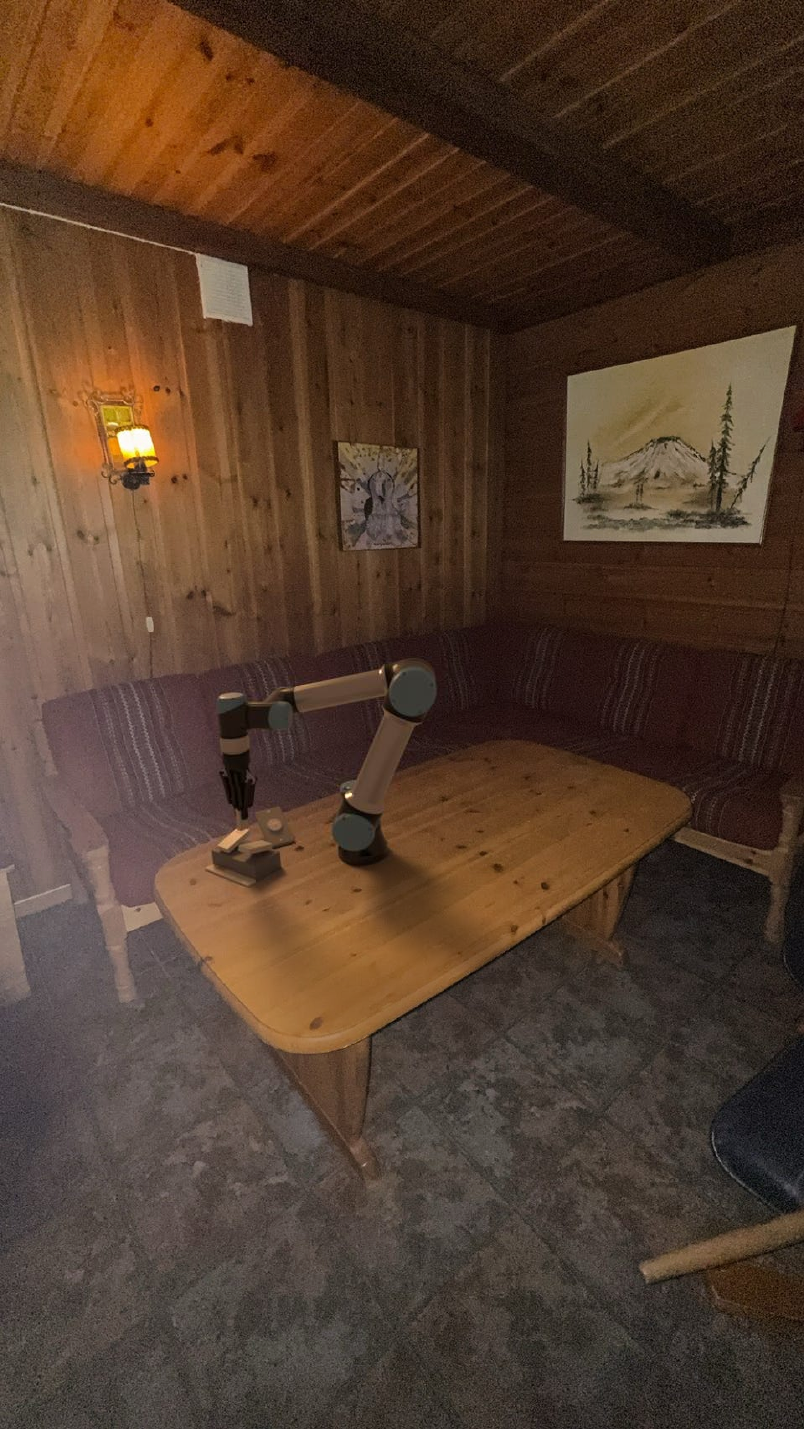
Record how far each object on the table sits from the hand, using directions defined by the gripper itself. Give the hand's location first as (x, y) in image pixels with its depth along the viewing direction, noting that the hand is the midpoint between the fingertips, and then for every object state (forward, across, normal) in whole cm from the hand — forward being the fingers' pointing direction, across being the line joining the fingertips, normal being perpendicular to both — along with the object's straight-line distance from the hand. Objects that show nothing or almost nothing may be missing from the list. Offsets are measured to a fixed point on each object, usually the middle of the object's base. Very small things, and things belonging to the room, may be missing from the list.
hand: (242, 828), depth 175 cm
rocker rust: (+8, +9, -4) cm, 12 cm away
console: (+15, +4, -2) cm, 16 cm away
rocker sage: (+7, 0, -4) cm, 8 cm away
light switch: (+15, +9, -21) cm, 28 cm away
